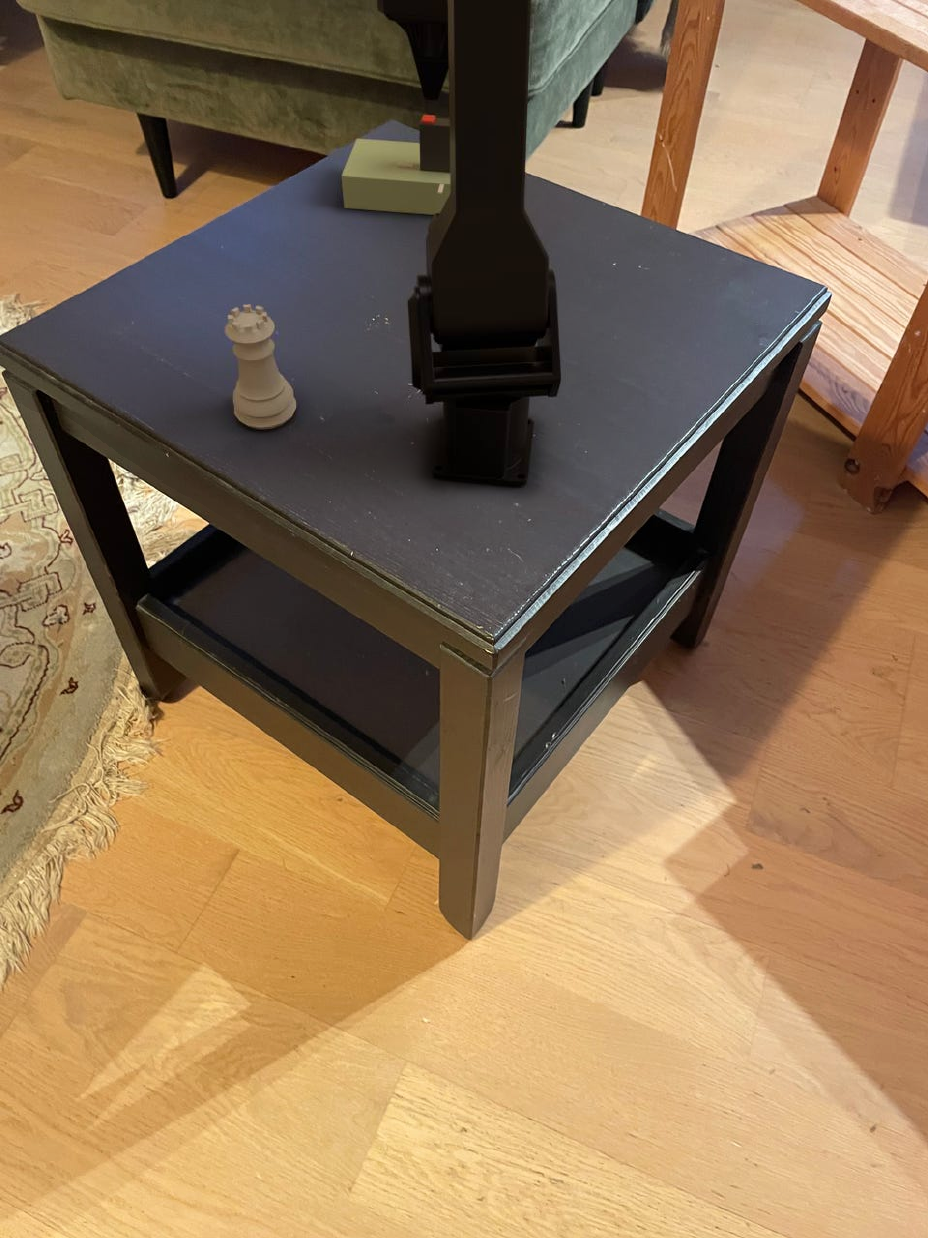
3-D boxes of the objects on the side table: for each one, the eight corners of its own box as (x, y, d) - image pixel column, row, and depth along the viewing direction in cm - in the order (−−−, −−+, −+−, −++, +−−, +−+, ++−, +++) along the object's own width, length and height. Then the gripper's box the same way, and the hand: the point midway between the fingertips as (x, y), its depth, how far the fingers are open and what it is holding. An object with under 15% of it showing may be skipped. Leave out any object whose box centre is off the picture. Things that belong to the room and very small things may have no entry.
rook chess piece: (309, 413, 67) (295, 317, 60) (258, 441, 65) (238, 344, 58) (273, 384, 68) (255, 287, 62) (222, 410, 67) (198, 313, 60)
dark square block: (472, 166, 83) (473, 117, 79) (470, 174, 82) (471, 124, 78) (422, 162, 83) (421, 113, 80) (420, 170, 82) (418, 120, 79)
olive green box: (488, 230, 82) (489, 195, 79) (340, 218, 83) (336, 183, 80) (497, 180, 87) (499, 146, 85) (358, 170, 88) (356, 136, 86)
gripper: (348, -213, 69) (363, 23, 81) (289, -143, 57) (316, 119, 70) (497, -205, 68) (489, 31, 80) (466, -133, 57) (463, 129, 69)
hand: (439, 74), depth 75 cm, fingers open, 9 cm apart
